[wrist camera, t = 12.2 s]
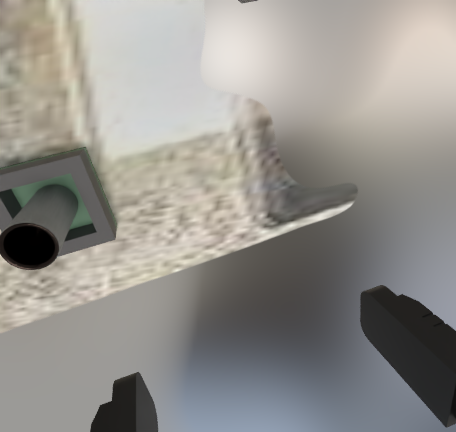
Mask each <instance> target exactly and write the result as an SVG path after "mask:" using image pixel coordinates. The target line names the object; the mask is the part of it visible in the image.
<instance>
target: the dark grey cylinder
mask: <svg viewBox="0 0 456 432" xmlns="http://www.w3.org/2000/svg"><path fill="white" fill-rule="evenodd" d="M77 209H78V201H77V198H76V196H75V195H74V193H73V192H72V191H71V190H69V189H68V188H66V187H64V186H61V185H47V186H44V187H42V188H40V189H39V190H38V191H37V192H36V193H35V194H34V195H33V196H32V198H31V199H30V200H29V201H28V202H27V203H26V205H25V206H24V207H23V208H22V209H21V210H20V212H19V213H18V214H17V215H16V216H15V218H14V219H13V220H12V221H11V222H10V223H9V225H8V226H7V227H6V228H5V229H4V230H3V232H2V233H1V235H0V254H1V256H2V257H3V258H4V259H5V260H6V261H7V262H8V263H9V264H11V265H13V266H15V267H17V268H20V269H25V270H36V269H41V268H44V267H46V266H48V265H50V264H51V263H53V262H54V261H55V259H56V258H57V256H58V254H59V252H60V250H61V248H62V245H63V243H64V241H65V238H66V236H67V234H68V231H69V229H70V226H71V224H72V222H73V219H74V217H75V215H76V212H77Z"/></svg>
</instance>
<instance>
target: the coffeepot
mask: <svg viewBox="0 0 456 432" xmlns="http://www.w3.org/2000/svg"><path fill="white" fill-rule="evenodd" d="M239 1H240V2H241V3H246V2H251V1H257V0H239Z"/></svg>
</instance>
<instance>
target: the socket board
mask: <svg viewBox="0 0 456 432" xmlns="http://www.w3.org/2000/svg"><path fill="white" fill-rule="evenodd" d="M47 185H61V186H64V187H66V188H68V189H69V190H71V191H72V192H73V193H74V195H75V196H76V198H77V201H78V209H77V212H76V215H75V217H74V219H73V222H72V224H71V226H70V229H69V231H68V234H67V236H66V238H65V241H64V243H63V245H62V248H61V250H60V252H59V254H58V256H62V255H65V254H68V253H72V252H75V251H78V250H82V249H85V248H89V247H92V246H95V245H99V244H102V243H105V242H109V241H112V240H115V238H116V229H117V223H116V221H115V218H114V216H113V214H112V211H111V209H110V206H109V204H108V201H107V199H106V197H105V194H104V192H103V189H102V187H101V184H100V182H99V179H98V177H97V175H96V172H95V170H94V167H93V165H92V162H91V160H90V158H89V155H88V153H87V150H86V148H85V147H84V148H80V149H76V150H72V151H68V152H64V153H60V154H56V155H52V156H48V157H44V158H40V159H36V160H32V161H28V162H24V163H20V164H16V165H12V166H8V167H4V168H0V229H1V231H2V232H3V230H4V229H5V228H6V227H7V226H8V225H9V223H10V222H11V221H12V220H13V219H14V218H15V216H16V215H17V214H18V213H19V212H20V210H21V209H22V208H23V207H24V206H25V205H26V203H27V202H28V201H29V200H30V199H31V198H32V196H33V195H34V194H35V193H36V192H37V191H38V190H39V189H40V188H42V187H44V186H47ZM58 256H57V257H58Z"/></svg>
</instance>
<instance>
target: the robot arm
mask: <svg viewBox="0 0 456 432" xmlns="http://www.w3.org/2000/svg"><path fill="white" fill-rule="evenodd" d="M360 322H361V327H362V330H363V332H364V334H365V336H366V337H367V338H368V340H369V341H370V342H371V343H372V344H373V346H374V347H375V348H376V349H377V350H378V351H379V352H380V353H381V355H382V356H383V357H384V358H385V359H386V360H387V361H388V362H389V364H390V365H391V366H392V367H393V368H394V369H395V370H396V371H397V373H398V374H399V375H400V376H401V377H402V378H403V379H404V381H405V382H406V383H407V384H408V385H409V386H410V387H411V388H412V390H413V391H414V392H415V393H416V394H417V395H418V396H419V397H420V399H421V400H422V401H423V402H424V403H425V404H426V405H427V406H428V408H429V409H430V410H431V411H432V412H433V413H434V415H435V416H436V417H437V418H438V419H439V420H440V421H441V422H442V423H443V425H444V426H445V427H449V426H451V425H453V424H455V423H456V331H455V330H454V329H453V328H451V327H450V326H449V325H448V324H445V323H444V321H443V320H441V319H440V318H439V317H438V316H436V315H433V313H432V312H431V311H430V310H429V309H427V308H426V307H425V306H424V305H422V304H421V303H420V302H419V301H416V300H414V299H412V298H410V297H407V296H405V295H403V294H402V295H399V296H397V295H395V294H394V293H393V292H392V291H391V290H389V289H388V288H387V287H386V286H383V285H380V286H377V287H374V288H372V289H369V290H366V291H363V292H362V293H361V318H360ZM90 432H158V422H157V414H156V409H155V405H154V402H153V399H152V397H151V395H150V393H149V391H148V389H147V387H146V385H145V383H144V381H143V378H142V376H141V374H140V373H139V372H137V373H134V374H131V375H129V376H126V377H123V378H120V379H117V380H115V381H114V384H113V393H112V401H111V402H108V403H105V404H102V405H100V407H99V409H98V412H97V414H96V416H95V418H94V420H93V422H92V424H91V430H90Z"/></svg>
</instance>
